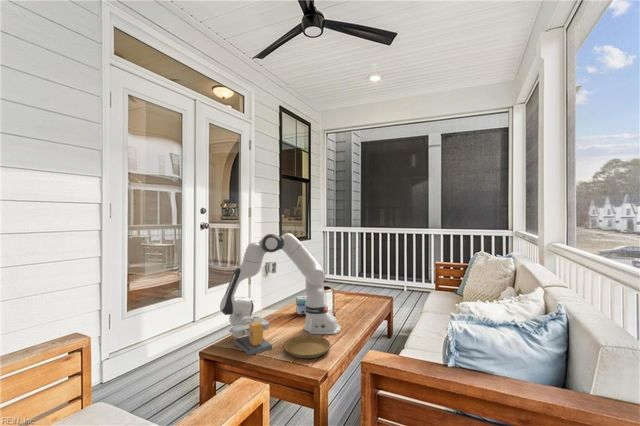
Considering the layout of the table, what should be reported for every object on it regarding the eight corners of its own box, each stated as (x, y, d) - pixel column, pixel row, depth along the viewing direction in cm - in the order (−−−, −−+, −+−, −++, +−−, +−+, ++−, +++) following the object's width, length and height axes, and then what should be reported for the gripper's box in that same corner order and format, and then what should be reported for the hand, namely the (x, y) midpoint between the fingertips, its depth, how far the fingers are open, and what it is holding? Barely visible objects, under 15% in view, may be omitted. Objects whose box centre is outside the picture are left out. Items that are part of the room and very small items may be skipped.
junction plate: (234, 342, 176) (233, 328, 176) (255, 337, 184) (255, 323, 183) (248, 355, 161) (248, 339, 160) (271, 348, 168) (271, 333, 168)
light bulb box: (297, 314, 222) (297, 299, 222) (295, 311, 229) (295, 296, 228) (312, 313, 225) (312, 297, 225) (310, 310, 231) (310, 295, 231)
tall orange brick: (258, 340, 172) (258, 321, 172) (262, 343, 168) (262, 324, 168) (249, 342, 169) (249, 323, 169) (253, 345, 165) (253, 326, 165)
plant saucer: (296, 338, 182) (296, 332, 182) (336, 344, 173) (336, 338, 173) (275, 356, 159) (275, 350, 159) (320, 365, 151) (320, 358, 151)
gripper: (227, 323, 172) (237, 331, 161) (262, 315, 185) (273, 322, 174) (227, 335, 172) (237, 344, 161) (262, 326, 185) (273, 334, 174)
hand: (256, 332), depth 168 cm, fingers closed on tall orange brick, 5 cm apart
